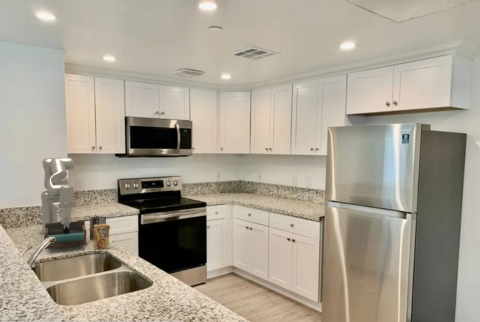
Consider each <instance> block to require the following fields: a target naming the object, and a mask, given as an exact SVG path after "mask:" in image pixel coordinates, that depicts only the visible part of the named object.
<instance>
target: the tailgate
mask: <svg viewBox="0 0 480 322" xmlns="http://www.w3.org/2000/svg"><path fill="white" fill-rule="evenodd" d="M49 237H55V238H56V241H55V242H54V243H61V242H72V241H82V240H83V238H84V232H83V233H72V234H60V235H48V238H49ZM50 244H51V243H50Z"/></svg>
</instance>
